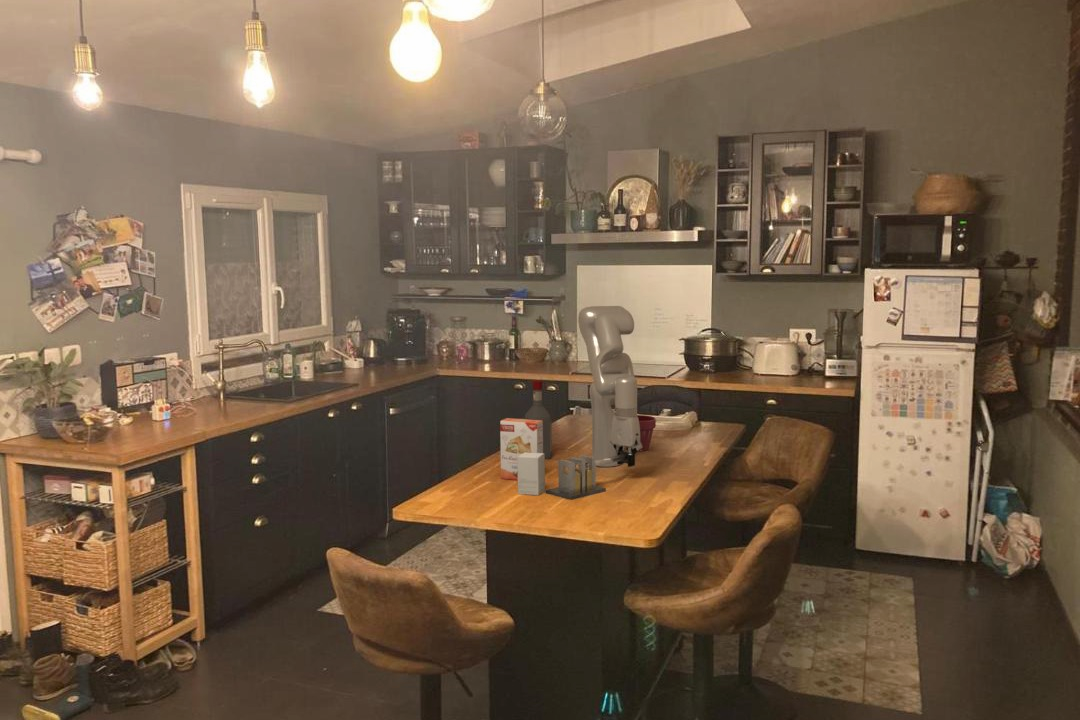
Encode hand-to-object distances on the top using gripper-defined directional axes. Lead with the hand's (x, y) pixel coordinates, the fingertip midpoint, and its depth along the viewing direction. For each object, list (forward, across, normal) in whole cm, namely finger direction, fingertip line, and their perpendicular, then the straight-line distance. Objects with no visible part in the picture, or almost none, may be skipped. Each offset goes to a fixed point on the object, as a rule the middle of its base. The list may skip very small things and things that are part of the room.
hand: (626, 464), depth 309 cm
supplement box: (+6, -10, -35) cm, 37 cm away
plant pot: (+5, -31, +42) cm, 52 cm away
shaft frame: (+5, 0, -25) cm, 26 cm away
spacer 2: (+4, 0, -21) cm, 22 cm away
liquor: (+5, -47, +2) cm, 47 cm away
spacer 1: (+4, 0, -27) cm, 27 cm away
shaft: (-1, 0, -9) cm, 9 cm away
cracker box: (+6, -26, -25) cm, 37 cm away
